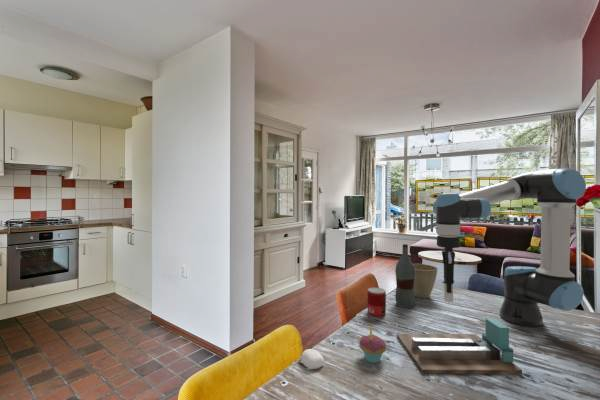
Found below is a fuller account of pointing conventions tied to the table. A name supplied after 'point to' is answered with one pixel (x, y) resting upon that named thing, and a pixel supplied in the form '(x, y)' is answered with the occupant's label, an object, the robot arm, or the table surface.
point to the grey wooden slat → (441, 342)
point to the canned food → (377, 302)
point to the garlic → (312, 359)
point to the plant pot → (424, 280)
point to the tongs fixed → (461, 352)
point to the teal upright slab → (499, 338)
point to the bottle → (405, 280)
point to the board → (456, 365)
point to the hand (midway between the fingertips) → (448, 300)
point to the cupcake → (372, 347)
